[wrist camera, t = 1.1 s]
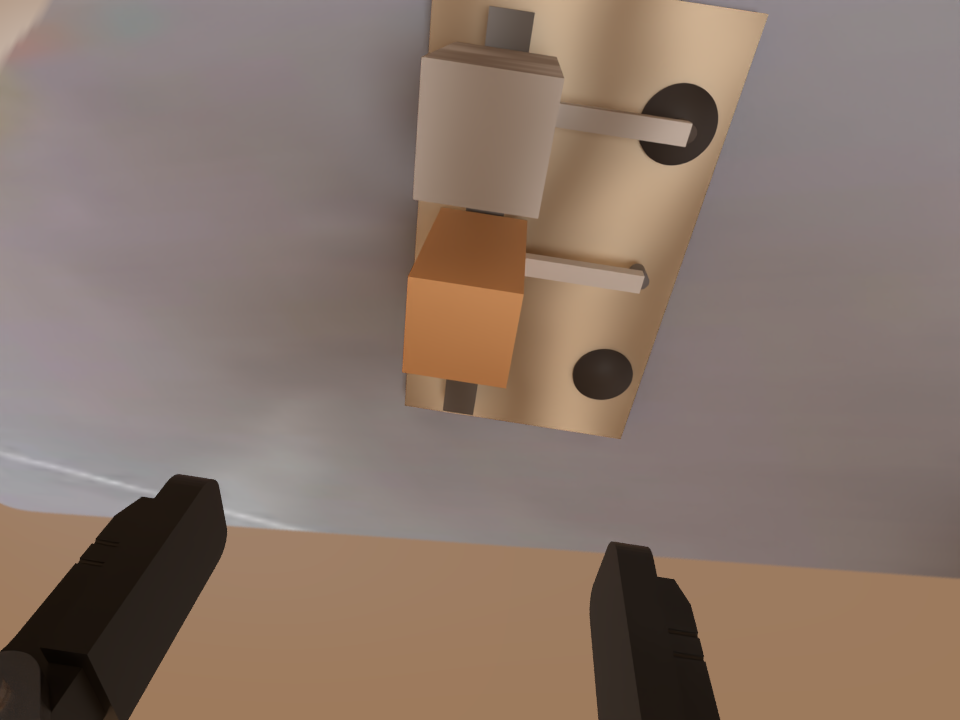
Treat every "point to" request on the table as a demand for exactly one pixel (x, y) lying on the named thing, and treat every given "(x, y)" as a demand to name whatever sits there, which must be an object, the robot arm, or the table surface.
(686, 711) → the robot arm
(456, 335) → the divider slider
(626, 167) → the pitch plate
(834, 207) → the table surface
